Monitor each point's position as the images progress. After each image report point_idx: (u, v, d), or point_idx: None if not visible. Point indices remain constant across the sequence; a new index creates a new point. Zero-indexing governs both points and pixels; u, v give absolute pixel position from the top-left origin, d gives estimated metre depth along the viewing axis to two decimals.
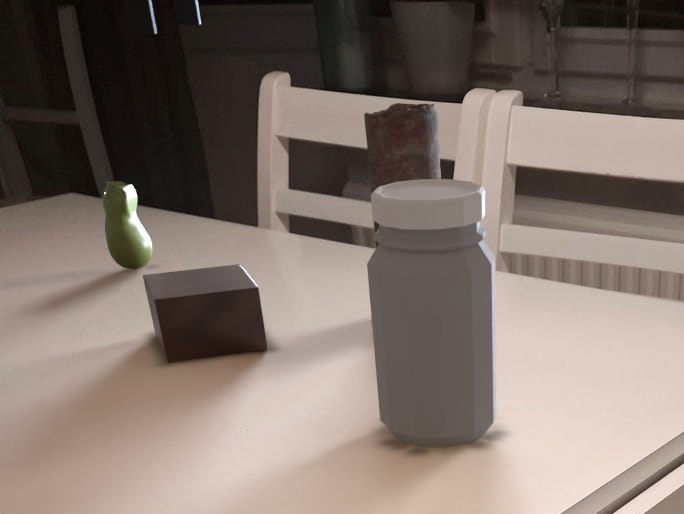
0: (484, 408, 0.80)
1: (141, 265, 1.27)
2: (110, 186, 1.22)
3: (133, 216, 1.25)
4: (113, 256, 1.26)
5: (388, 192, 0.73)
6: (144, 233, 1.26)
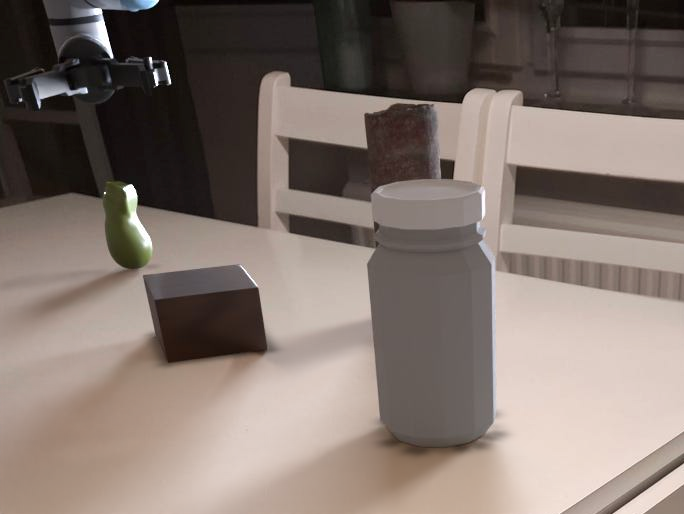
0: (484, 408, 0.80)
1: (141, 265, 1.27)
2: (110, 186, 1.22)
3: (133, 216, 1.25)
4: (113, 256, 1.26)
5: (388, 192, 0.73)
6: (144, 233, 1.26)
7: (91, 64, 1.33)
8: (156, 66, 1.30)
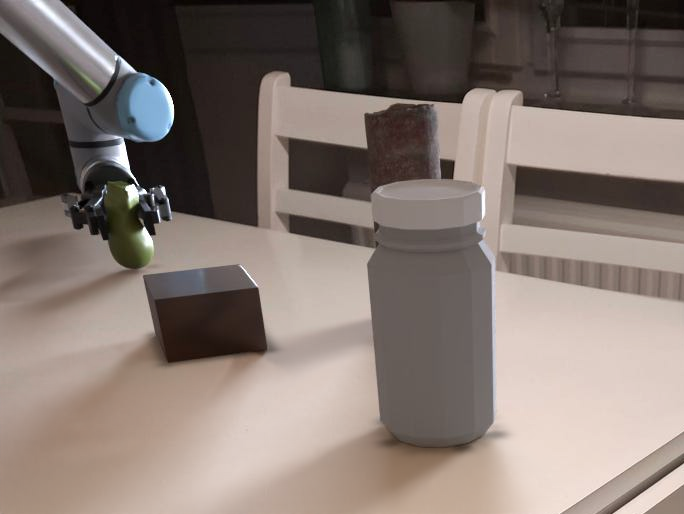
0: (484, 408, 0.80)
1: (142, 265, 1.27)
2: (112, 186, 1.22)
3: (135, 216, 1.25)
4: (114, 256, 1.26)
5: (388, 192, 0.73)
6: (145, 233, 1.26)
7: None
8: (158, 202, 1.28)
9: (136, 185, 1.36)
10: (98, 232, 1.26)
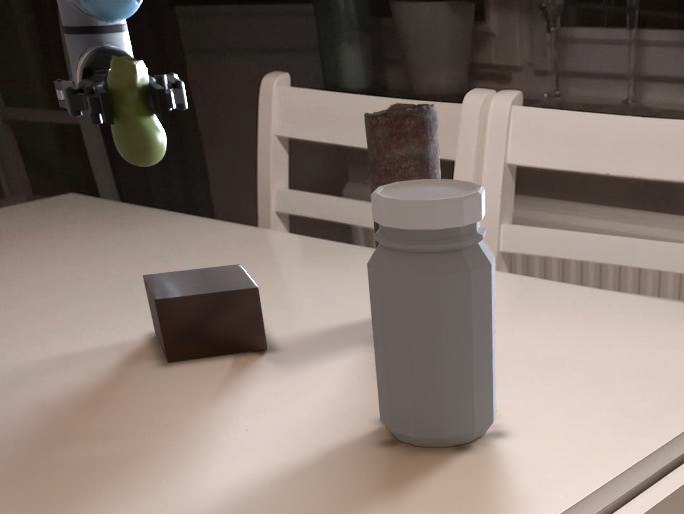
0: (484, 408, 0.80)
1: (153, 161, 1.06)
2: (117, 60, 1.01)
3: (144, 99, 1.04)
4: (120, 149, 1.05)
5: (388, 192, 0.73)
6: (157, 121, 1.05)
7: None
8: (172, 86, 1.07)
9: None
10: (100, 120, 1.05)
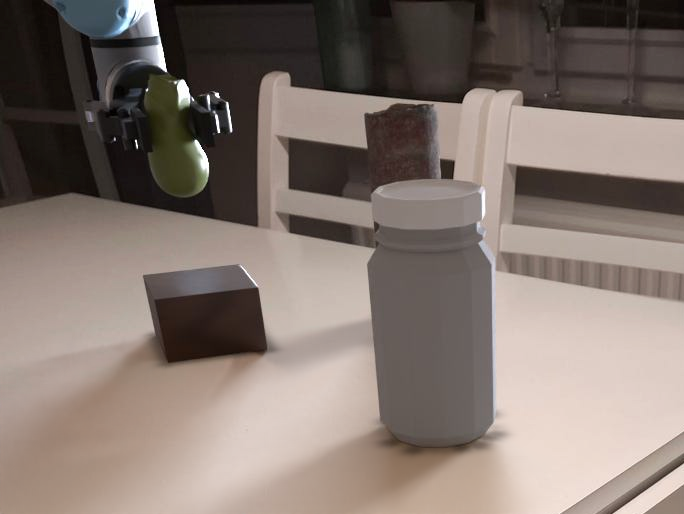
0: (484, 408, 0.80)
1: (194, 191, 0.95)
2: (156, 79, 0.90)
3: (185, 123, 0.93)
4: (157, 178, 0.94)
5: (388, 192, 0.73)
6: (199, 147, 0.94)
7: None
8: (215, 107, 0.96)
9: None
10: (135, 146, 0.94)
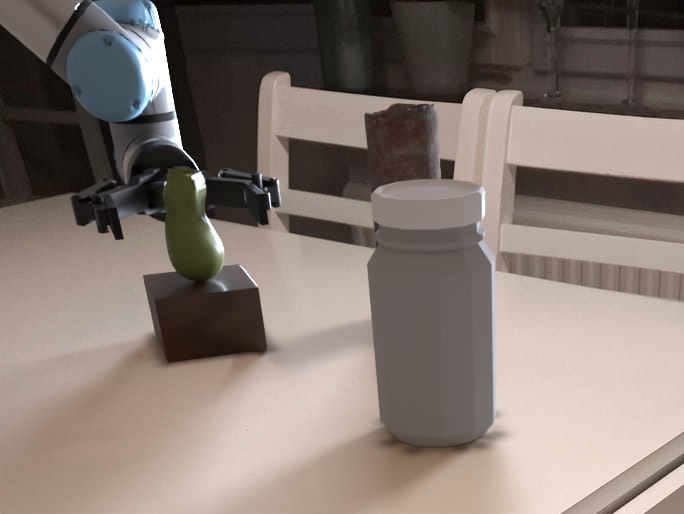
0: (484, 408, 0.80)
1: (210, 276, 0.99)
2: (174, 174, 0.93)
3: (202, 213, 0.97)
4: (175, 265, 0.98)
5: (388, 192, 0.73)
6: (215, 235, 0.98)
7: None
8: (265, 184, 1.02)
9: (196, 170, 1.07)
10: (106, 230, 0.98)
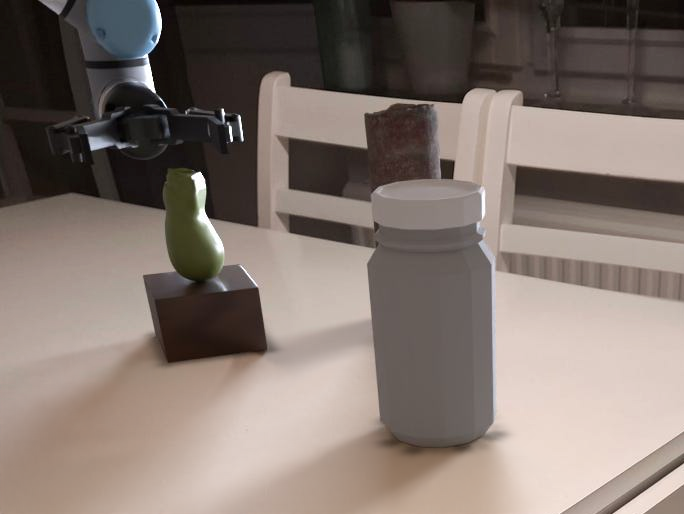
0: (484, 408, 0.80)
1: (210, 276, 0.99)
2: (174, 174, 0.94)
3: (202, 213, 0.97)
4: (175, 265, 0.98)
5: (388, 192, 0.73)
6: (215, 235, 0.98)
7: (146, 114, 1.12)
8: (228, 120, 1.10)
9: None
10: (79, 159, 1.06)
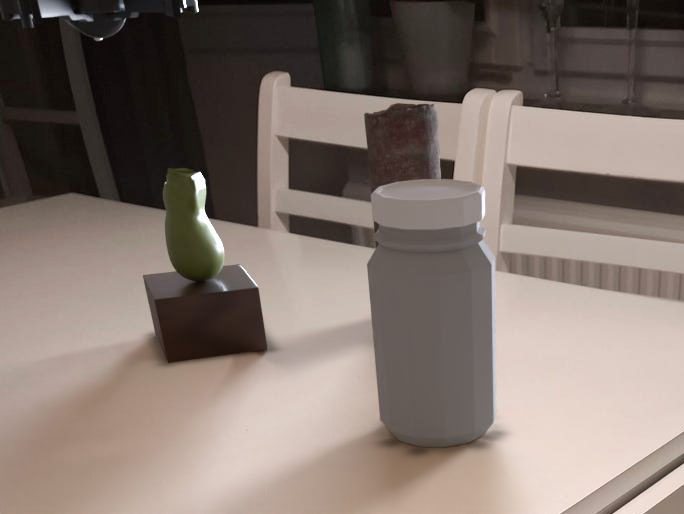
0: (484, 408, 0.80)
1: (210, 276, 0.99)
2: (174, 174, 0.94)
3: (202, 213, 0.97)
4: (175, 265, 0.98)
5: (388, 192, 0.73)
6: (215, 235, 0.98)
7: None
8: None
9: None
10: (30, 25, 1.05)
